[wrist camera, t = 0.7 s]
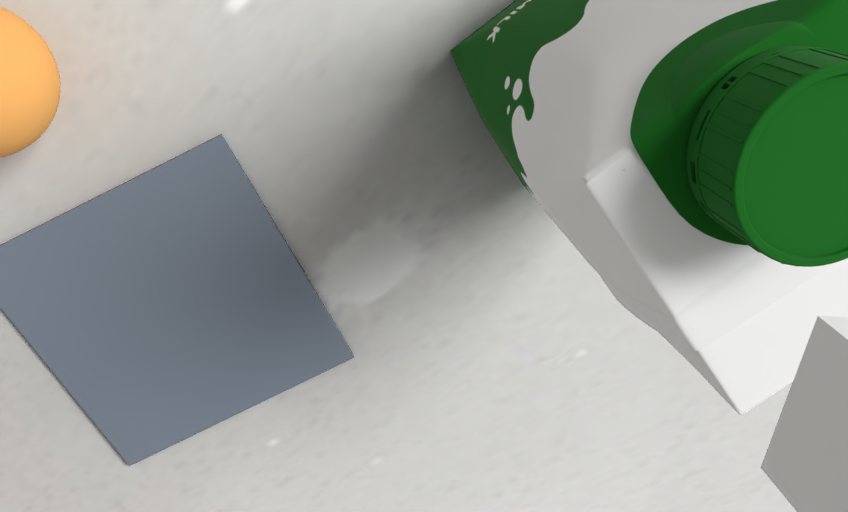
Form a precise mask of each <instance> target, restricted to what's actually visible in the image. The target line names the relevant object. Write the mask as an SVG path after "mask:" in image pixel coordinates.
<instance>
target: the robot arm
mask: <svg viewBox="0 0 848 512" xmlns="http://www.w3.org/2000/svg"><path fill="white" fill-rule="evenodd" d="M761 468H762V470H763V471H764V472H765V473H766V474H767V476H768V477H769V478H770V479H771V481H772V482H773V483H774V484H775V485H776V487H777V488H778V489H779V490H780V491H781V493H782V494H783V495H784V496H785V498H786V499H787V500H788V501H789V502H790V504H791V505H792V506H793V507H794V508H795V510H796V511H797V512H848V317H832V316H817V319H816V322H815V324H814V327H813V330H812V332H811V335H810V338H809V340H808V343H807V346H806V348H805V351H804V354H803V356H802V359H801V362H800V364H799V367H798V370H797V372H796V375H795V378H794V380H793V383H792V386H791V388H790V391H789V394H788V396H787V399H786V402H785V404H784V407H783V410H782V412H781V415H780V418H779V420H778V423H777V426H776V428H775V431H774V433H773V436H772V439H771V441H770V444H769V447H768V449H767V452H766V455H765V457H764V460H763V463H762V465H761Z"/></svg>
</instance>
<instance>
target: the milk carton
mask: <svg viewBox="0 0 848 512" xmlns="http://www.w3.org/2000/svg"><path fill="white" fill-rule="evenodd" d="M451 53H452V55H453V58H454V60H455V62H456V64H457V66H458V69H459V71H460V73H461V76H462V78H463V80H464V82H465V84H466V87H467V89H468V91H469V93H470V96H471V98H472V100H473V102H474V104H475V106H476V108H477V110H478V112H479V114H480V116H481V118H482V120H483V122H484V124H485V125H486V127H487V128H488V130H489V132H490V133H491V135H492V137H493V138H494V140H495V142H496V143H497V145H498V146H499V148H500V150H501V151H502V153H503V154H504V156H505V157H506V159H507V160H508V162H509V163H510V165H511V166H512V168H513V170H514V171H515V173H516V174H517V176H518V177H519V179H520V180H521V182H522V183H523V184H524V186H525V187H526V189H527V190H528V191H529V192H530V194H531V195H532V196H533V197H534V199H535V200H536V201H537V202H538V203H539V205H540V206H541V207H542V208H543V209H544V211H545V212H546V213H547V214H548V215H549V217H550V218H551V219H552V220H553V221H554V223H555V224H556V225H557V226H558V227H559V228H560V230H561V231H562V232H563V233H564V234H565V236H566V237H567V238H568V239H569V240H570V242H571V243H572V244H573V245H574V246H575V248H576V249H577V250H578V251H579V252H580V253H581V255H582V256H583V257H584V258H585V259H586V261H587V262H588V263H589V264H590V265H591V266H592V267H593V268H594V269H595V270H596V271H597V272H598V274H599V275H600V277H601V278H602V279H603V281H604V282H605V284H606V285H607V287H608V288H609V290H610V291H611V292H612V294H613V295H614V297H615V298H616V299H617V300H618V301H619V302H620V303H621V304H622V305H623V306H624V307H625V308H626V309H627V310H629V311H630V312H631V313H632V314H633V315H635V316H636V317H637V318H639V319H640V320H641V321H643V322H644V323H646V324H647V325H648V326H650V327H651V328H653V329H655V330H656V331H658V332H659V333H660V334H661V335H662V336H663V337H664V338H665V339H666V340H667V341H668V342H669V343H670V344H671V345H672V346H673V347H674V348H675V349H676V350H677V351H678V352H679V353H680V354H681V355H682V356H683V357H684V358H685V359H686V360H687V361H688V362H689V363H690V364H691V365H692V366H693V367H694V368H695V369H696V370H697V371H698V372H699V373H700V374H701V375H702V376H703V377H704V378H705V379H706V380H707V381H708V382H709V383H710V384H711V385H712V386H713V387H714V389H715V390H716V391H717V392H718V393H719V394H720V395H721V396H722V397H723V398H724V399H725V400H726V401H727V402H728V403H729V404H730V405H731V406H732V407H733V408H734V409H735V410H736V411H737V412H738V413H739V414H740V415H743V414H744V413H746V412H748V411H749V410H751V409H752V408H754V407H755V406H757V405H758V404H760V403H761V402H763V401H764V400H766V399H767V398H769V397H770V396H772V395H773V394H775V393H776V392H778V391H779V390H781V389H782V388H784V387H786V386H787V385H789V384H790V383H792V382H793V380H794V378H795V375H796V372H797V370H798V367H799V364H800V362H801V359H802V356H803V354H804V351H805V348H806V346H807V343H808V340H809V338H810V335H811V332H812V330H813V327H814V324H815V322H816V319H817V316H832V317H848V0H516V1H514V2H513V3H512V4H511V5H509V6H508V7H507V8H505V9H504V10H503V11H501V12H500V13H499V14H498V15H496V16H495V17H494V18H492V19H491V20H490V21H488V22H487V23H486V24H485V25H483V26H482V27H481V28H479V29H478V30H477V31H475V32H474V33H473V34H472V35H470V36H469V37H468V38H466V39H465V40H464V41H462V42H461V43H460V44H459V45H457V46H456V47H455V48H453V49H452V50H451Z"/></svg>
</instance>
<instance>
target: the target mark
mask: <svg viewBox="0 0 848 512" xmlns="http://www.w3.org/2000/svg"><path fill="white" fill-rule="evenodd" d="M0 308H1V309H2V311H3V312H4V313H5V314H6V315H7V317H8V318H9V319H10V320H11V322H12V323H13V324H14V325H15V327H16V328H17V329H18V330H19V331H20V333H21V334H22V335H23V336H24V338H25V339H26V340H27V341H28V342H29V344H30V345H31V346H32V347H33V349H34V350H35V351H36V352H37V354H38V355H39V356H40V357H41V358H42V360H43V361H44V362H45V363H46V365H47V366H48V367H49V368H50V369H51V371H52V372H53V373H54V374H55V376H56V377H57V378H58V379H59V380H60V382H61V383H62V384H63V385H64V387H65V388H66V389H67V390H68V392H69V393H70V394H71V395H72V396H73V398H74V399H75V400H76V401H77V403H78V404H79V405H80V406H81V407H82V409H83V410H84V411H85V412H86V414H87V415H88V416H89V417H90V419H91V420H92V421H93V422H94V423H95V425H96V426H97V427H98V428H99V430H100V431H101V432H102V433H103V434H104V436H105V437H106V438H107V439H108V441H109V442H110V443H111V444H112V445H113V447H114V448H115V449H116V450H117V452H118V453H119V454H120V455H121V457H122V458H123V459H124V460H125V461H126V463H127V464H128V465H129V466H131V465H133V464H135V463H137V462H139V461H141V460H143V459H145V458H147V457H149V456H151V455H153V454H155V453H158V452H160V451H162V450H164V449H166V448H168V447H170V446H172V445H174V444H176V443H178V442H180V441H182V440H184V439H186V438H189V437H191V436H193V435H195V434H197V433H199V432H201V431H203V430H205V429H207V428H209V427H211V426H213V425H215V424H217V423H219V422H222V421H224V420H226V419H228V418H230V417H232V416H234V415H236V414H238V413H240V412H242V411H244V410H246V409H248V408H250V407H252V406H255V405H257V404H259V403H261V402H263V401H265V400H267V399H269V398H271V397H273V396H275V395H277V394H279V393H281V392H283V391H286V390H288V389H290V388H292V387H294V386H296V385H298V384H300V383H302V382H304V381H306V380H308V379H310V378H312V377H314V376H316V375H319V374H321V373H323V372H325V371H327V370H329V369H331V368H333V367H335V366H337V365H339V364H341V363H343V362H345V361H347V360H349V359H352V358H354V355H353V354H352V352H351V350H350V348H349V347H348V345H347V343H346V342H345V340H344V338H343V337H342V335H341V333H340V332H339V330H338V328H337V327H336V325H335V323H334V322H333V320H332V318H331V317H330V315H329V313H328V312H327V310H326V308H325V307H324V305H323V303H322V302H321V300H320V298H319V297H318V295H317V293H316V292H315V290H314V288H313V287H312V285H311V283H310V282H309V280H308V278H307V276H306V275H305V273H304V271H303V270H302V268H301V266H300V265H299V263H298V261H297V260H296V258H295V256H294V255H293V253H292V251H291V250H290V248H289V246H288V245H287V243H286V241H285V240H284V238H283V236H282V235H281V233H280V231H279V230H278V228H277V226H276V225H275V223H274V221H273V220H272V218H271V216H270V215H269V213H268V211H267V210H266V208H265V206H264V204H263V203H262V201H261V199H260V198H259V196H258V194H257V193H256V191H255V189H254V188H253V186H252V184H251V183H250V181H249V179H248V178H247V176H246V174H245V173H244V171H243V169H242V168H241V166H240V164H239V163H238V161H237V159H236V158H235V156H234V154H233V153H232V151H231V149H230V148H229V146H228V144H227V143H226V141H225V139H224V138H223V136H222V134H221V135H219V136H217V137H215V138H213V139H211V140H209V141H207V142H205V143H203V144H201V145H199V146H197V147H195V148H193V149H191V150H189V151H187V152H185V153H183V154H181V155H179V156H177V157H175V158H173V159H171V160H169V161H167V162H165V163H163V164H161V165H159V166H157V167H155V168H153V169H151V170H149V171H147V172H145V173H143V174H141V175H139V176H137V177H135V178H133V179H131V180H129V181H127V182H125V183H123V184H121V185H119V186H117V187H115V188H113V189H111V190H109V191H107V192H105V193H103V194H101V195H99V196H97V197H95V198H93V199H91V200H89V201H87V202H85V203H83V204H81V205H80V206H78V207H76V208H74V209H72V210H70V211H68V212H66V213H64V214H62V215H60V216H58V217H56V218H54V219H52V220H50V221H48V222H46V223H44V224H42V225H40V226H38V227H36V228H34V229H32V230H30V231H28V232H26V233H24V234H22V235H20V236H18V237H16V238H14V239H12V240H10V241H8V242H6V243H4V244H2V245H0Z"/></svg>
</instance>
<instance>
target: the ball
mask: <svg viewBox="0 0 848 512" xmlns="http://www.w3.org/2000/svg"><path fill="white" fill-rule="evenodd" d="M59 99H60V76H59V71H58V67H57V64H56V61H55V59H54V57H53V54H52V52H51V51H50V49H49V47H48V45H47V44H46V42H45V41H44V40H43V38H42V37H41V36H40V35H39V34H38V33H37V31H36V30H35V29H34V28H33V27H32V26H30V25H29V24H28V23H27V22H26V21H25V20H23V19H22V18H20V17H19V16H17V15H16V14H14V13H12V12H10V11H8V10H7V9H5V8H2V7H0V157H4V156H8V155H11V154H14V153H16V152H18V151H21V150H22V149H24V148H26V147H27V146H29V145H30V144H32V143H33V142H34V141H36V140H37V139H38V138H39V137H40V136H41V135H42V134H43V133H44V132H45V130H46V129H47V128H48V126H49V125H50V123H51V122H52V120H53V118H54V116H55V114H56V111H57V107H58V104H59Z"/></svg>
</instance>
